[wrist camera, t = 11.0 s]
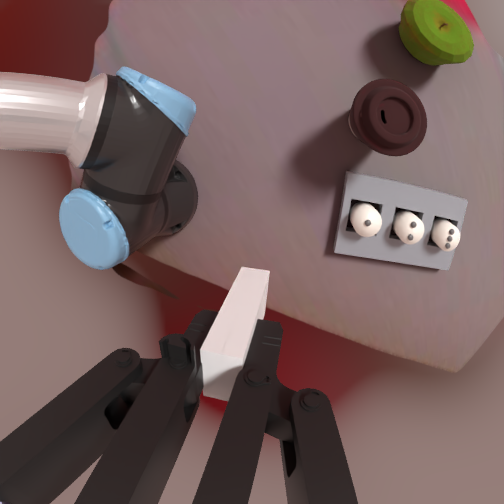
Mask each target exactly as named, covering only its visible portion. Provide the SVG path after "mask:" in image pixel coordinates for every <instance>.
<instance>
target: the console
mask: <svg viewBox="0 0 504 504" xmlns="http://www.w3.org/2000/svg"><path fill="white" fill-rule="evenodd" d="M351 199H356V200H361V201H367V202H372V203H378V204H379V207H378V213H379V214H380V216H381V219H382V225H381V228H380V230H379V231H378V233H377V234H375V235H374V236H371V237H363V236H361V235H359V234H358V233H357V232H356V231H355V229H354V228H349V227H346V226H347V221H348V215H349V210H350V204H351ZM467 203H468V200H466V199H464V198H461V197H458V196H455V195H451V194H448V193H444V192H440V191H437V190H433V189H429V188H425V187H421V186H417V185H413V184H409V183H405V182H400V181H396V180H391V179H387V178H382V177H377V176H372V175H367V174H361V173H356V172H350V171H346V174H345V181H344V188H343V195H342V201H341V207H340V213H339V219H338V225H337V230H336V236H335V241H334V246H333V249H334V253H339V254H345V255H352V256H359V257H365V258H372V259H378V260H385V261H391V262H398V263H404V264H411V265H417V266H423V267H430V268H436V269H442V270H449V268H450V265H451V262H452V259H453V255H454V252H455V249H456V248H455V249H453V250H452V251H443V250H442V249H441V248H440V247H439V246H438V245H437V244H436V243H433V242H428V240H429V236H430V232H431V229H432V225H433V220H434V216H439V217H443V218H447V219H451V220H452V222H451V224H453V225H454V226H456V227H457V228H458V230H459V232H461V228H462V224H463V220H464V216H465V212H466V208H467ZM396 207H398V208H403V209H408V210H412V211H417V212H418V215H417V217H418V218H419V219H420V220H421V221H422V222H423V224H424V234H423V237H422V238H421V240H420V241H418V242H417V243H415V244H406V243H404V242H403V241H402V240H401V239H400V238H399V237H398V236H396V235H391V234H390V231H391V227H392V222H393V218H394V213H395V208H396Z"/></svg>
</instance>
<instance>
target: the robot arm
mask: <svg viewBox="0 0 504 504" xmlns="http://www.w3.org/2000/svg"><path fill="white" fill-rule="evenodd" d="M195 114H196V105H195V103H194V101H193V100H192V99H190V98H189V97H187V96H186V95H184V94H182V93H180V92H178V91H177V90H175V89H173V88H171V87H169V86H167V85H165V84H163V83H161V82H159V81H157V80H155V79H152V78H150V77H148V76H146V75H144V74H141V73H139V72H137V71H135V70H133V69H130V68H128V67H121V68H120V70H119V71H117V73H116V76H112V75H108V74H103V73H102V74H100V75H98V76H96V77H94V78H93V79H91V80H89V81H88V82H79V81H74V80H68V79H61V78H55V77H48V76H40V75H32V74H21V73H8V72H0V149H2V150H22V151H37V152H51V153H61V154H65V155H66V156H67V157H68V158H69V160H70V161H71V163H72V164H73V166H74V167H75V168H80V169H84V172H83V176H82V180H81V185H80V187H79V188H77V189H74V190H72V191H71V192H70V193H69V194H68V195H67V196H65V197H64V199H63V201H62V203H61V206H60V211H59V221H60V227H61V231H62V234H63V236H64V239H65V240H66V242H67V244H68V246H69V248H70V249H71V251H72V252H73V253H74V255H75V256H76V257H77V258H78V259H79V260H80V261H82V262H83V263H84V264H86V265H88V266H90V267H92V268H95V269H99V270H103V269H109V268H112V267H113V266H115V265H117V264H119V263H121V262H123V261H124V260H126V258H127V257H128V256H129V255H131V254H132V253H133V252H135V251H136V250H137V249H139V248H140V247H141V246H143V245H144V244H145V243H147V242H148V241H149V240H151V239H152V238H154V237H155V236H166V235H171V234H174V233H176V232H178V231H179V230H181V229H182V228H183V227H185V226H186V225H187V224H188V223H189V222H190V221H191V219H192V218H193V216H194V214H195V211H196V208H197V203H198V192H197V187H196V183H195V181H194V178H193V177H192V175H191V173H190V172H189V170H188V169H187V168H186V167H185V166H184V165H183V164H181V163H180V162H178V161H176V160H175V159H176V157H177V155H178V153H179V150H180V148H181V146H182V144H183V141H184V139H185V137H187V136H188V134H189V133H188V130H189V128H190V126H191V123H192V121H193V119H194V116H195ZM269 273H270V271H266V270H260V269H253V268H247V267H242V268H241V270H240V272H239V274H238V276H237V277H236V279H235V281H234V283H233V285H232V287H231V289H230V291H229V294H228V295H227V297H226V299H225V301H224V303H223V305H222V307H221V309H220V311H219V312H214V311H209V310H202V311H201V312H199V313H198V314H196V315H195V317H194V318H193V320H192V322H191V324H190V325H189V327H188V329H187V330H186V332H185V333H184V335H183V334H170V335H167V336H165V337H163V338H162V339H161V340H160V341H159V344H160V350H161V355H162V358H159V359H143V358H140V356H139V354H138V353H137V352H136V351H135V350H132V349H130V348H122V349H117V350H116V351H114V352H112V353H111V354H110V355H108V356H107V357H106V358H104V359H103V360H102V361H101V362H99V363H98V364H97V365H96V366H94V367H93V368H92V369H91V370H89V371H88V372H87V373H85V374H84V375H83V376H82V377H80V378H79V379H78V380H77V381H75V382H74V383H73V384H72V385H70V386H69V387H68V388H67V389H65V390H64V391H63V392H62V393H60V394H59V395H58V396H57V397H55V398H54V399H53V400H52V401H50V402H49V403H48V404H47V405H45V406H44V407H43V408H42V409H40V410H39V411H38V412H37V413H35V414H34V415H33V416H32V417H30V418H29V419H28V420H27V421H25V422H24V423H23V424H22V425H20V426H19V427H18V428H17V429H15V430H14V431H13V432H12V433H11V434H10V435H8V436H7V437H6V438H4V439H3V440H2V441H1V442H0V504H50V503H51V502H52V501H53V500H54V499H55V498H56V497H57V496H59V495H60V494H61V493H62V492H63V491H64V490H65V489H66V488H67V487H69V486H70V485H71V484H72V483H73V482H74V481H75V480H76V479H77V478H78V477H79V476H80V475H81V474H82V473H83V472H84V471H86V470H87V469H88V468H89V467H90V466H91V465H92V463H94V462H95V461H96V460H97V459H98V458H99V457H100V456H101V455H102V454H103V455H102V456H101V459H100V460H99V462H98V463H97V465H96V467H95V469H94V470H93V472H92V474H91V475H90V477H89V479H88V480H87V482H86V484H85V486H84V488H83V489H82V491H81V493H80V495H79V496H78V498H77V500H76V502H75V503H74V504H158V502H159V500H160V497H161V495H162V493H163V490H164V488H165V486H166V483H167V481H168V479H169V476H170V474H171V472H172V469H173V467H174V465H175V462H176V460H177V458H178V455H179V453H180V450H181V448H182V446H183V443H184V441H185V438H186V436H187V434H188V431H189V429H190V427H191V424H192V422H193V419H194V417H195V415H196V412H197V410H198V407H199V403H200V399H199V396H200V394H201V392H202V389H203V395H205V396H208V397H213V398H217V399H221V400H225V401H228V404H227V407H226V410H225V413H224V416H223V419H222V421H221V424H220V427H219V430H218V433H217V436H216V439H215V442H214V445H213V447H212V450H211V453H210V456H209V459H208V462H207V465H206V467H205V470H204V473H203V476H202V478H201V481H200V484H199V487H198V489H197V492H196V495H195V498H194V500H193V503H192V504H248V500H249V497H250V493H251V489H252V485H253V481H254V476H255V472H256V468H257V464H258V459H259V455H260V451H261V446H262V442H263V437H264V432H265V433H267V434H269V435H271V436H273V437H275V438H278V439H279V440H280V448H281V455H282V463H283V471H284V478H285V485H286V493H287V501H288V504H358V502H357V497H356V493H355V490H354V486H353V482H352V478H351V474H350V471H349V468H348V463H347V460H346V456H345V452H344V449H343V446H342V442H341V438H340V435H339V431H338V428H337V425H336V421H335V417H334V414H333V411H332V408H331V404H330V401H329V399H328V398H327V396H326V395H325V394H324V393H323V392H321V391H319V390H316V389H310V388H306V389H302V390H299V391H298V392H296V391H294V390H291V389H289V388H287V387H285V386H284V385H283V384H281V383H280V381H279V380H278V378H277V375H276V370H277V364H278V357H279V352H280V346H281V340H282V334H283V329H282V327H281V324H280V323H279V322H274V321H268V320H263V317H264V314H265V306H266V298H267V290H268V281H269Z"/></svg>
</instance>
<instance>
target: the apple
mask: <svg viewBox="0 0 504 504" xmlns="http://www.w3.org/2000/svg"><path fill="white" fill-rule="evenodd" d="M398 29H399V34H400V38H401V40H402V42H403V44H404V46H405V48H406V49H407V50H408V51H409V52H410V53H411V55H412V56H413V57H415V58H416V59H418V60H419V61H421V62H422V63H425V64H429V65H433V66H435V65H443V64H454V63H463V62H465V61H466V60H467V59H468V58H469V57H471V56H472V51H473V47H474V44H473V40H472V36H471V33H470V31H469V29H468V27H467V26H466V24H465V22H464V20H463V19H462V18H461V17H460V16H459V15H458V14H457V13H456V12H455V11H454V10H453V9H451V8H450V7H449V6H447V5H446V4H444V3H443V2H441V1H440V0H409V1H407V3H406V4H405V6H404V8H403V11H402V13H401V23H400V25H399V28H398Z"/></svg>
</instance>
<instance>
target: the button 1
mask: <svg viewBox="0 0 504 504" xmlns="http://www.w3.org/2000/svg"><path fill="white" fill-rule="evenodd" d="M349 218H350V221H351V223H352V225H353V227H354V229H355V231H356V232H357V233H358V234H359V235H361V236H363V237H371V236H374V235H375V234H377V233H378V231H379V230H380V228H381V225H382V219H381V216H380V214H379V213H378V211H377V210H376V209H375V208H374V207H373V206H372V205H371V204H370V203H368V202H358V203H356V204H355V205H353V206H352V208H351V210H350V213H349Z"/></svg>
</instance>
